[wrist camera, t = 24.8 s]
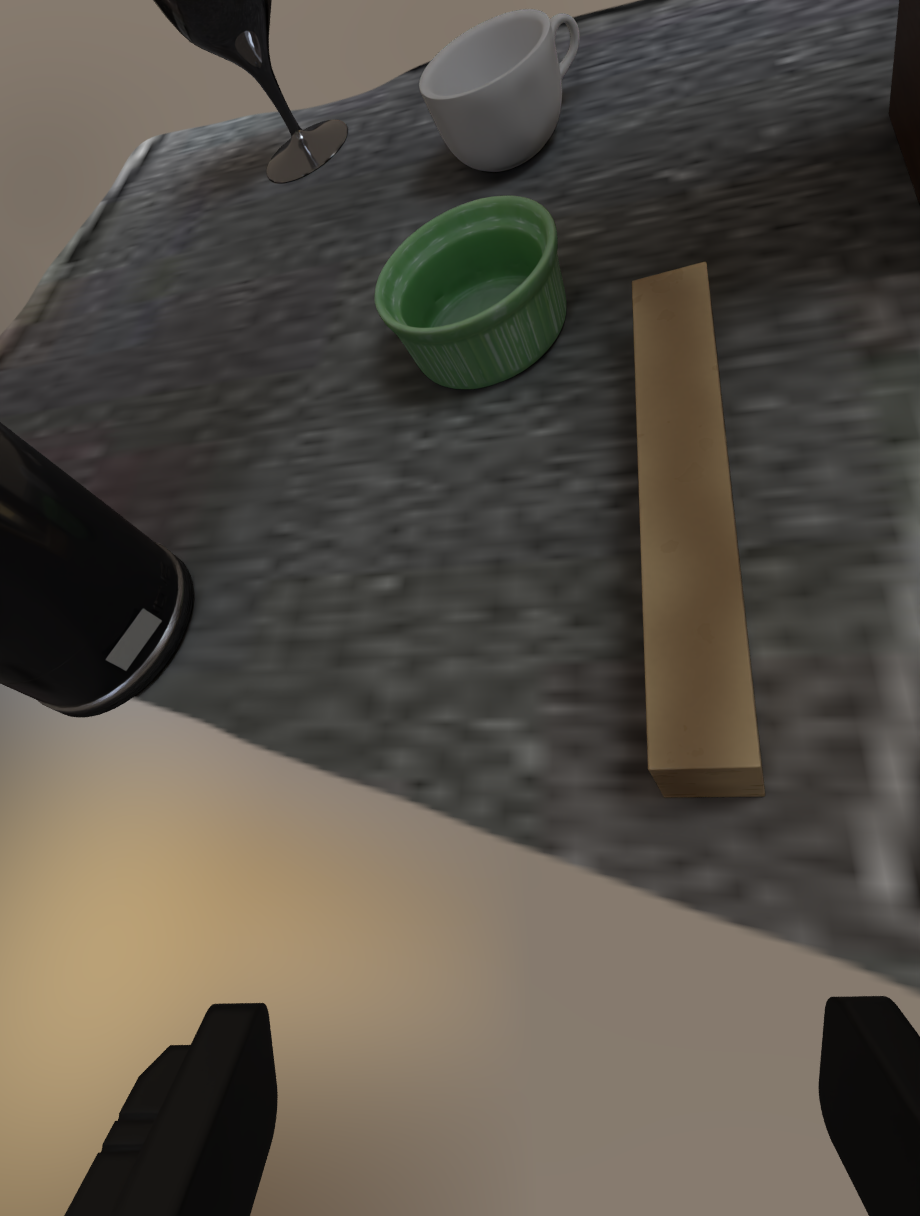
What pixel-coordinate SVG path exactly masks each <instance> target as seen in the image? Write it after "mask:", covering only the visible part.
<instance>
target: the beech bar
mask: <svg viewBox="0 0 920 1216" xmlns="http://www.w3.org/2000/svg"><path fill="white" fill-rule="evenodd" d="M632 302H633V332H634V363H635V393H636V423H637V453H638V484H639V514H640V544H641V575H642V605H643V635H644V665H645V696H646V726H647V756H648V770H649V772H650V773H651V775H652V777H653V779H654V781H655V782H656V784H657V786H658V788H659V789H660V791H661V793H662V795H663V797H764V796H765V787H764V778H763V769H762V760H761V751H760V742H759V732H758V723H757V714H756V705H755V696H754V687H753V678H752V668H751V659H750V650H749V641H748V632H747V623H746V613H745V604H744V595H743V586H742V577H741V568H740V559H739V549H738V540H737V531H736V522H735V513H734V504H733V494H732V485H731V476H730V467H729V458H728V449H727V440H726V430H725V421H724V412H723V403H722V394H721V385H720V375H719V366H718V357H717V348H716V339H715V330H714V321H713V312H712V304H711V295H710V287H709V279H708V270H707V263H706V262H702V263H698V264H694V265H690V266H687V267H683V268H679V269H675V270H672V271H668V272H664V273H660V274H657V275H653V276H649V277H645V278H642V279H638V280H634V281H632Z"/></svg>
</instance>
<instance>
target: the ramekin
mask: <svg viewBox="0 0 920 1216" xmlns="http://www.w3.org/2000/svg"><path fill="white" fill-rule="evenodd" d="M375 305H376V308H377V311H378V313H379V315H380V317H381V318H382V320H383V321H384V322H385V324H386V325H387V326H388V327H389V328H390V329H391V330H392V331H393V332H394V333H395V334H397V336H398V337H399V338H400V340H401V341H402V343H403V344H404V346H405V347H406V349H407V350H408V352H409V353H410V355H411V356H412V358H413V359H414V361H415V362H416V364H417V365H418V367H419V368H420V369H421V371H422V372H423V373H424V374H425V375H426V376H427V377H428V378H429V379H431V380H432V381H434V382H435V383H437V384H439V385H442V386H445V387H449V388H454V389H477V388H483V387H487V386H491V385H494V384H496V383H499V382H502V381H505V380H507V379H510V378H512V377H514V376H515V375H517V374H519V373H521V372H522V371H524V370H525V369H527V368H528V367H530V366H531V365H532V364H534V363H535V362H536V361H537V360H538V359H540V358H541V357H542V356H543V355H544V354H545V352H546V351H547V350H548V349H549V348H550V347H551V345H552V344H553V343H554V341H555V340H556V338H557V337H558V335H559V333H560V331H561V329H562V326H563V324H564V321H565V316H566V296H565V290H564V285H563V280H562V276H561V271H560V266H559V261H558V255H557V231H556V226H555V222H554V220H553V218H552V216H551V214H550V213H549V212H548V210H547V209H546V208H545V207H543V206H542V205H541V204H539V203H537V202H536V201H534V200H531V199H528V198H524V197H518V196H494V197H488V198H481V199H478V200H475V201H472V202H468V203H466V204H463V205H460V206H458V207H455V208H453V209H451V210H448V211H447V212H445V213H443V214H441V215H439V216H437V217H436V218H434V219H432V220H431V221H429V222H428V223H426V224H425V225H423V226H422V227H420V228H419V229H418V230H417V231H415V232H414V233H413V234H412V235H411V236H409V237H408V238H407V239H406V240H405V241H404V242H403V243H402V244H401V245H400V246H399V247H398V248H397V250H396V251H395V252H394V253H393V255H392V256H391V257H390V258H389V260H388V261H387V263H386V264H385V266H384V268H383V269H382V271H381V274H380V276H379V278H378V281H377V284H376V289H375Z"/></svg>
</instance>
